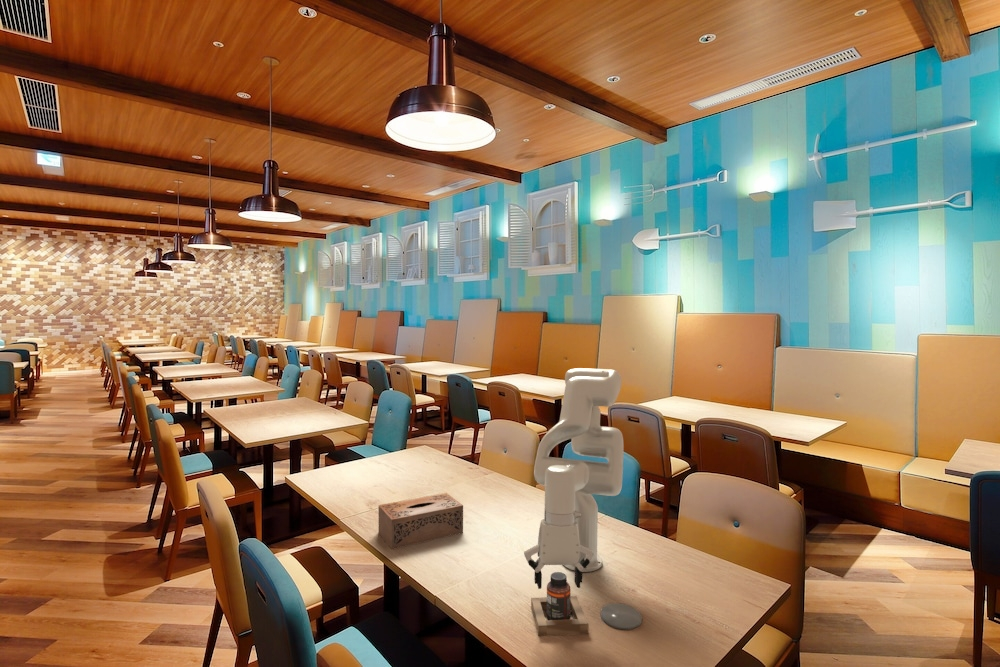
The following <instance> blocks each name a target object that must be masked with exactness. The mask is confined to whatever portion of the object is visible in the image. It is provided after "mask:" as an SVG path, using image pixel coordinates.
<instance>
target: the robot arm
mask: <svg viewBox="0 0 1000 667" xmlns="http://www.w3.org/2000/svg"><path fill="white" fill-rule="evenodd" d="M564 383H565V387H564V392H563V398H562V404H561V410H560V415H559V420H558V422H557V423H556V424H555V425H553V427H551V428H550V429H549V430H548V431H547V432H546V434H544V436H543V437H542V438H541V441H540V442H539V444H538V447H537V450H536V457H535V461H534V465H533V466H534V467H533V476H534V480H535V482H536V483H537V484H538V485H540V486H544V510H543V512H544V515H543V516H544V517H543V519H541V520H540V522H539V523H540V524H539V529H538V536H537V544H536V545H534V546H532V547H530V548H529V549H527V550H525V551H524V552H523V554H524V557H525V559H526V561H527V564H528V566H529V567H531V568H532V569H533V570H534V578H533V580H534V584H536V585H537V588H538V590H541V589H542V586H543V585H542V582H543V580H542V579H543V578H542V576H543V574H542V570H543V568H544V567H545V566H561V565H562V566H564V567H565V568H567V569H569V570H572V571H574V584H575V586H576V588H577V589H580V588H581V584H582V583H583V573H590V572H594V571H597V570H599V569H600V568H602V566H603V559H602V557H601V556H600V555H599V554H598V529H599V528H598V525H599V524H598V523H599V522H598V520H599V518H598V517H599V516H598V515H599V508H598V503H597V502H596V499H595V498H594V497H593V495H599V496H600V495H601V496H607V497H608V496H609V497H610V496H611V497H615V496H618V495H619V494H620V493H621V490H622V487H623V476H624V474H623V471H624V466H623V465H624V448H625V446H624V436H623V433H622V431H621V430H620V429H618V427H612V426H603V425H602V426H601V409H600V407H607V408H608V407H612V406H613V405H614V404H615V403H616V401H617V399H618V397H619V394H620V392H621V388H622V378H621V375H620V373H619V371H618V370H615V369H610V368H609V369H608V368H607V369H606V368H590V367H589V368H588V367H585V368H583V367H577V368H576V367H575V368H571V369H568V370H567V371H566V372H565V375H564ZM567 440H570V441H571V450H572V452H573V453H574V454H575V455H579V456H583V457H585V456H586V457H591V458H601V459H606V460H607V462H602V461H593V460H584V459H573V458H572V459H571V458H564V457H563V458H562V457H552V456H550V453H551V452H552V450H553V449H554V448H555V447H556V446H557V445H559V444H561V443H562V442H565V441H567ZM535 554H537V557H538V558H537V559H536V560H534V559H533V558H532V556H534V555H535Z"/></svg>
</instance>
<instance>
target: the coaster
mask: <svg viewBox="0 0 1000 667" xmlns="http://www.w3.org/2000/svg"><path fill="white" fill-rule="evenodd" d="M600 617H601V620H602V621H603V622H604V623H605V624H606V625H608V626H610V627H612V628H614V629H618V630H633V629H637V628H638V627H639V626H641V624H642V614H641V613H640V611H639V610H638V609H636V608H635V607H633V606H631V605H628V604H624V603H620V602H615V603H614V602H612V603H609V604H605V605H604V606H603V607H602V608H601V609H600Z"/></svg>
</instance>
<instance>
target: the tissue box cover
mask: <svg viewBox="0 0 1000 667" xmlns="http://www.w3.org/2000/svg"><path fill="white" fill-rule="evenodd" d="M459 533H460V534H463V533H464V505H463V504H462V503H461V502H459V501H458V500H457V499H455V498H454V497H453V496H451V495H450V494H449V493H447V492H444V493H439V494H438V493H437V494H432V495H428V496H423V497H422V496H421V497H417V498H410V499H405V500H400V501H399V500H398V501H395V502H389V503H383V504H379V505H378V534H379V535H380V537H381V538H382V539H383V541H384V542H385V543H386V544H387V546H388V547H389V548H390V549H391V550H394V548H395V549H399V548H403V547H409V546H411V545H416V544H419V543H424V542H428V541H434V540H437V539H442V538H446V537H447V538H448V537H451V536H455V534H456V535H459Z"/></svg>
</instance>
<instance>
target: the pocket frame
mask: <svg viewBox="0 0 1000 667" xmlns="http://www.w3.org/2000/svg"><path fill="white" fill-rule="evenodd" d="M530 600H531V602H530V603H531V604H530V605H531V606H530V609H531V612H532V615H533V619H534V623H535V628H536V632H537V636H538V637H548V636H550V637H551V636H568V635H569V636H570V635H571V636H572V635H588V634H589V622H588V620H587V618H586V615H585V613H584V610H583V607H582V606H581V602H579V599H578V597H577V595H570V603H571V605H570V607H571V609H570V611H571V615H572V617H573V618H572V619H571V618H570V619H567V620H547V619H546V618H545V614H544V612H547V596H546V597H545V596H544V597H531V598H530Z"/></svg>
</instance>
